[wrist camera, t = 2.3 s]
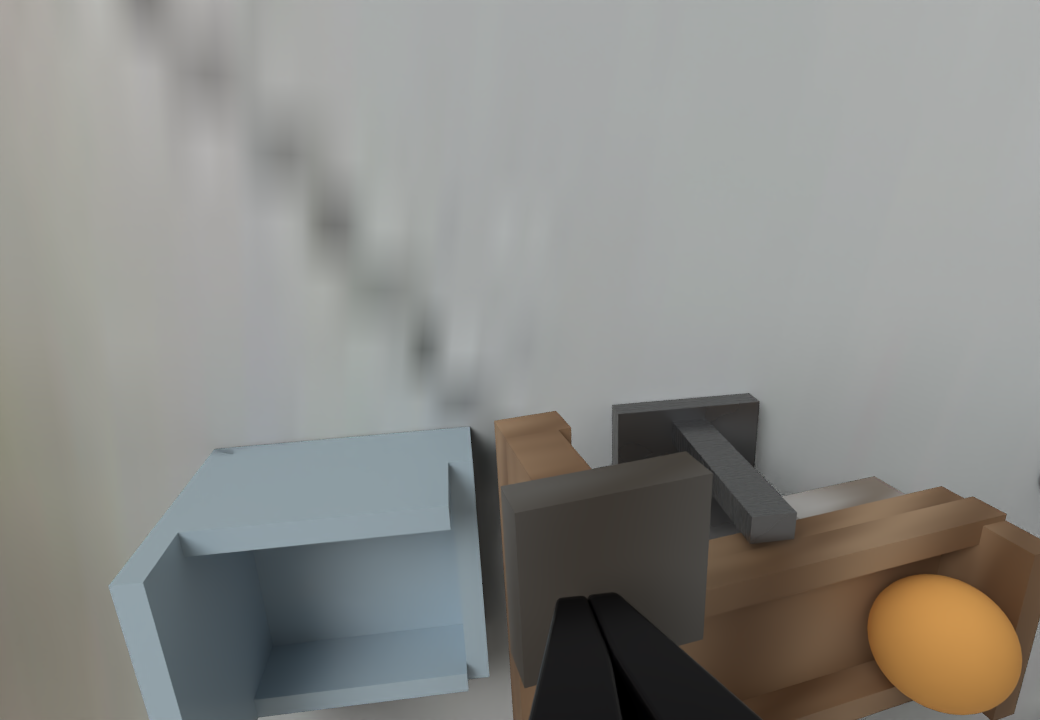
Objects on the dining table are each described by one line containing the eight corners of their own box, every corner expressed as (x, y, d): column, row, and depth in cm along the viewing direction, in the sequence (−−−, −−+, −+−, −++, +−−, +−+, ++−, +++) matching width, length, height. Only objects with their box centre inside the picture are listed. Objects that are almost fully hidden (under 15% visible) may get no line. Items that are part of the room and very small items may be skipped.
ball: (945, 599, 20) (1067, 684, 16) (859, 669, 19) (966, 769, 16) (916, 527, 18) (1044, 605, 15) (823, 601, 18) (933, 698, 15)
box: (469, 426, 22) (480, 546, 15) (485, 625, 24) (499, 801, 18) (214, 449, 21) (108, 585, 14) (260, 652, 24) (188, 846, 17)
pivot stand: (749, 393, 23) (869, 489, 16) (732, 604, 26) (829, 756, 19) (612, 404, 22) (680, 509, 16) (611, 618, 25) (668, 779, 19)
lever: (914, 296, 20) (1225, 369, 13) (866, 599, 23) (1088, 781, 16) (433, 359, 16) (514, 513, 9) (466, 710, 19) (542, 1007, 13)
